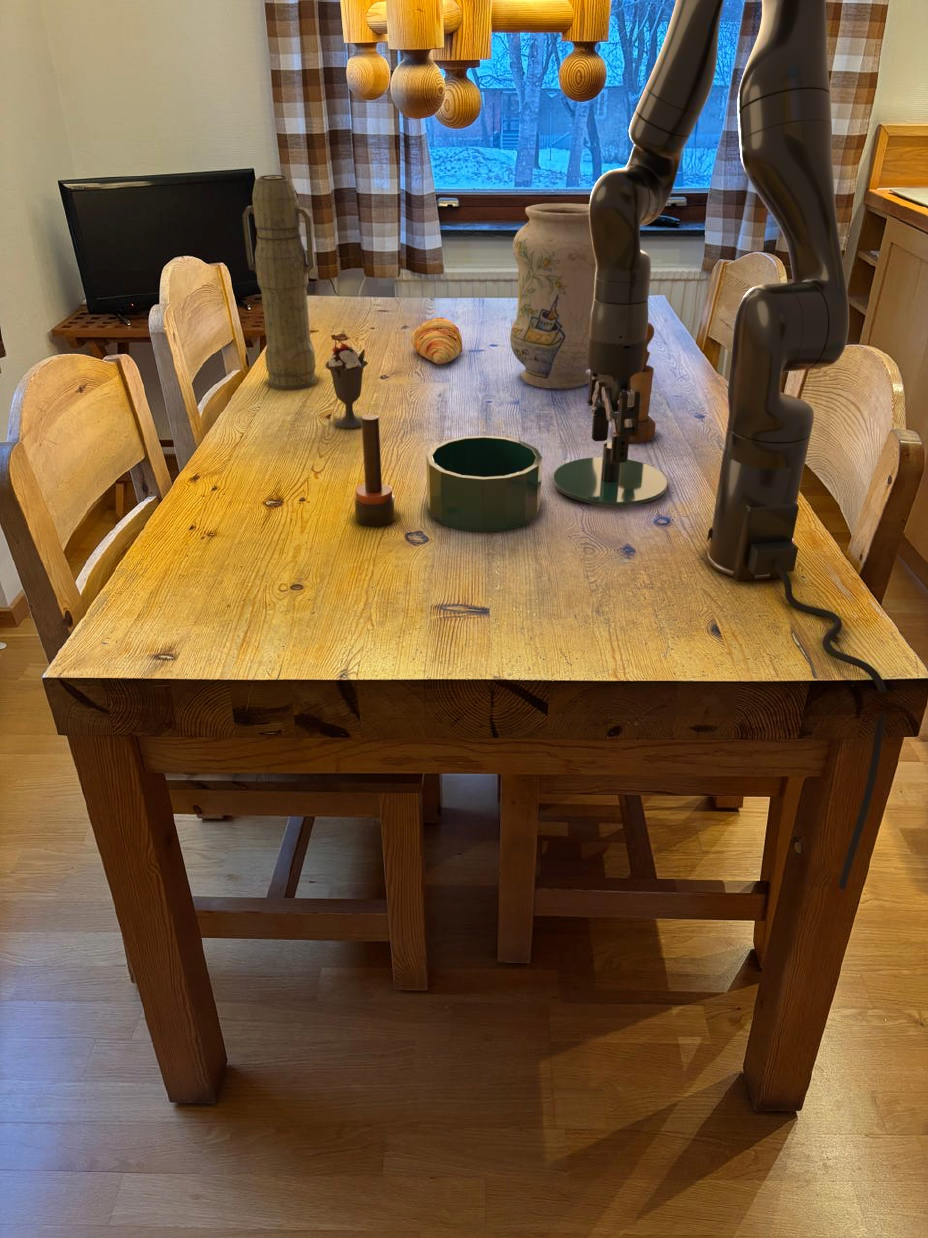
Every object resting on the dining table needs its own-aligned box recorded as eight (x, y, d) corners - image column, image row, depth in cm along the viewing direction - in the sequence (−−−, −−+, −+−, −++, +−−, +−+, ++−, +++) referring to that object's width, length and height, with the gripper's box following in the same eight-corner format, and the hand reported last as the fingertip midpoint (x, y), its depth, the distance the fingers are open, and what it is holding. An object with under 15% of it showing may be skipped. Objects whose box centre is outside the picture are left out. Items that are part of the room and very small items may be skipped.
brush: (396, 525, 128) (392, 422, 120) (357, 528, 127) (350, 425, 120) (392, 508, 132) (388, 408, 125) (354, 511, 131) (348, 410, 124)
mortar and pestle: (653, 444, 153) (666, 329, 143) (612, 441, 154) (622, 327, 144) (655, 429, 158) (667, 318, 149) (615, 427, 159) (624, 316, 150)
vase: (545, 358, 192) (553, 195, 176) (623, 376, 182) (638, 205, 167) (489, 380, 180) (492, 207, 164) (569, 400, 170) (580, 219, 155)
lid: (682, 505, 133) (688, 463, 130) (568, 513, 131) (571, 471, 128) (645, 461, 147) (649, 422, 143) (541, 467, 144) (543, 428, 141)
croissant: (456, 385, 188) (475, 348, 185) (410, 363, 185) (429, 325, 182) (445, 351, 206) (463, 318, 203) (403, 331, 203) (420, 296, 199)
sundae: (321, 426, 159) (314, 335, 151) (344, 414, 164) (338, 325, 156) (355, 433, 157) (349, 340, 149) (377, 420, 162) (373, 330, 154)
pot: (550, 527, 127) (553, 474, 123) (436, 536, 125) (435, 482, 121) (525, 481, 140) (527, 432, 136) (421, 488, 138) (420, 439, 134)
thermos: (323, 389, 176) (306, 179, 157) (257, 389, 175) (233, 180, 157) (326, 374, 183) (311, 172, 165) (264, 374, 183) (242, 173, 165)
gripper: (574, 322, 132) (568, 435, 140) (607, 349, 120) (598, 471, 128) (627, 319, 133) (617, 432, 142) (664, 346, 121) (652, 467, 130)
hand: (608, 450), depth 135 cm, fingers open, 8 cm apart
